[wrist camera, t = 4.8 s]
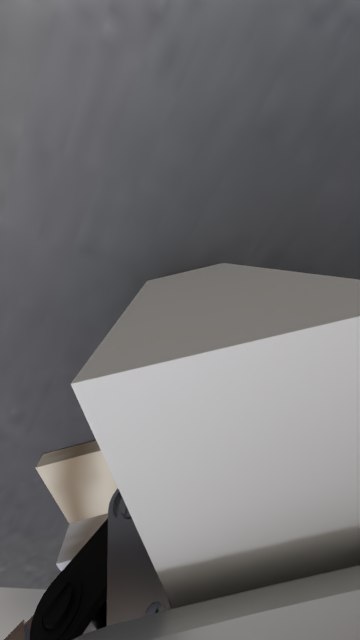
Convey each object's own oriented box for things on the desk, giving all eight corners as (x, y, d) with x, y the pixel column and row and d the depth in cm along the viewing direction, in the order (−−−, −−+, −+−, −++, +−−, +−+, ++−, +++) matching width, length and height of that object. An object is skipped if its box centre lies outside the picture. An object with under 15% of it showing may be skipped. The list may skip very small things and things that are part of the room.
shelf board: (225, 406, 22) (242, 443, 18) (238, 473, 26) (255, 519, 21) (43, 454, 22) (13, 504, 17) (79, 516, 25) (62, 573, 20)
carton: (223, 263, 12) (462, 292, 2) (249, 434, 16) (377, 707, 6) (143, 281, 12) (53, 387, 2) (189, 448, 16) (226, 741, 6)
